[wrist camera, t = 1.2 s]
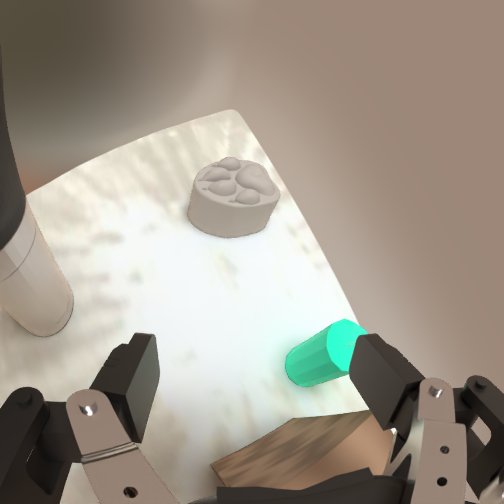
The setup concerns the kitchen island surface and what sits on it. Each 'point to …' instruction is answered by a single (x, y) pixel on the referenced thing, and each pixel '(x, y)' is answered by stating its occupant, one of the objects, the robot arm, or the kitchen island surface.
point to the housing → (309, 452)
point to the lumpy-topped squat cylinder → (232, 198)
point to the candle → (324, 354)
